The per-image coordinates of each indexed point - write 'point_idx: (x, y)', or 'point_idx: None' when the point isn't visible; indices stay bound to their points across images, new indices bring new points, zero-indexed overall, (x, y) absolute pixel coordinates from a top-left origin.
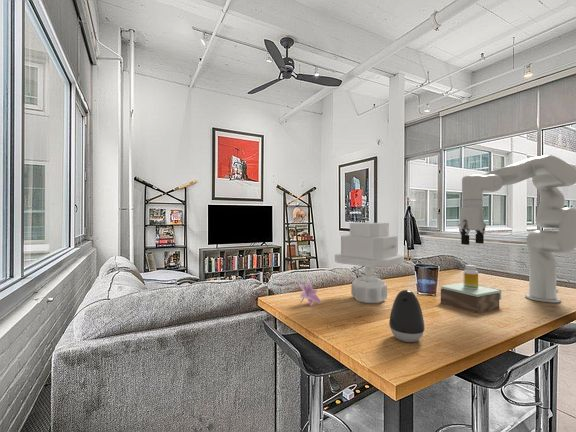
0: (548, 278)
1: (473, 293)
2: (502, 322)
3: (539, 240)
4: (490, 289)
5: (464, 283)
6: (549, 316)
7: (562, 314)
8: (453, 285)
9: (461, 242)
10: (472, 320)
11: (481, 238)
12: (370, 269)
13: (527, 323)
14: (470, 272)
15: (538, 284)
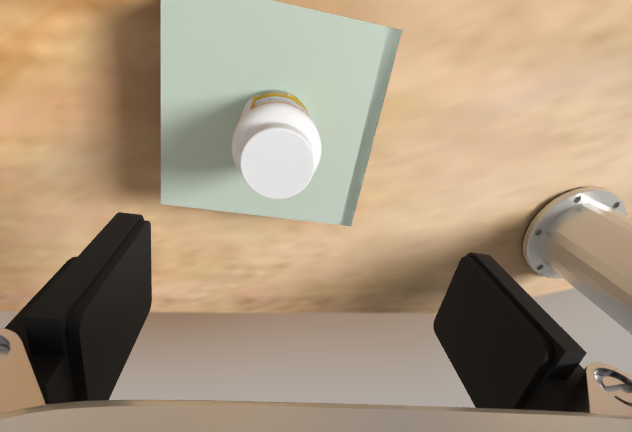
0: (604, 309)
1: (162, 186)
2: (156, 259)
3: None
4: (322, 196)
5: (244, 107)
6: (346, 302)
7: (397, 312)
8: (253, 27)
9: (112, 222)
10: (75, 201)
11: (465, 371)
12: None
13: (217, 295)
14: (237, 166)
15: (581, 266)
